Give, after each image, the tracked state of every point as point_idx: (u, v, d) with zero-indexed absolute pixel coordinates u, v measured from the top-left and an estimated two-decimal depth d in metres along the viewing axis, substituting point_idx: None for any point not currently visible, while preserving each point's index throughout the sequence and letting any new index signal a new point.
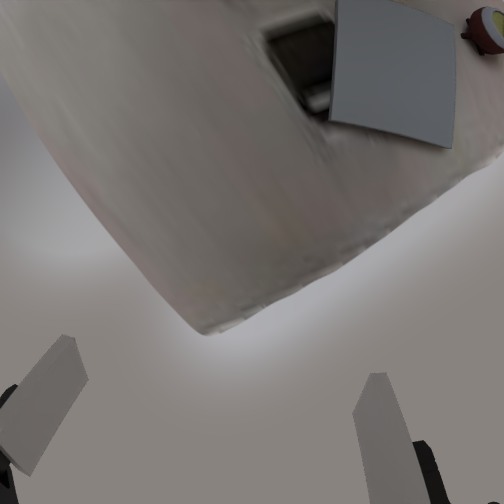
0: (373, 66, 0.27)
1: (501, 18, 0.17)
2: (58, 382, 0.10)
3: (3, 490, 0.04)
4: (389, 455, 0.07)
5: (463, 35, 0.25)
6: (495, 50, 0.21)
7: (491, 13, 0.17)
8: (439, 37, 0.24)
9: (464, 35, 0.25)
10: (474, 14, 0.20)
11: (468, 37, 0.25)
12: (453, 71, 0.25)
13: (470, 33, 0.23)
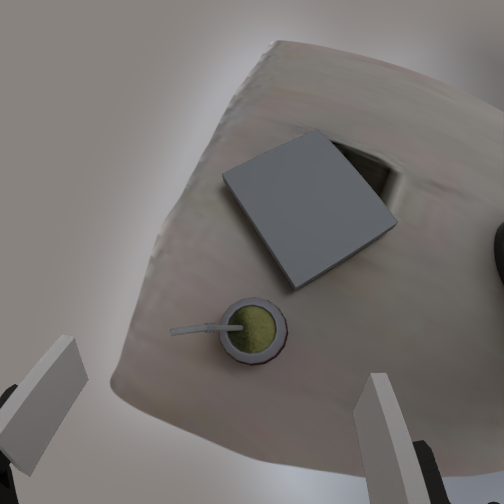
0: (325, 175, 0.38)
1: (259, 340, 0.28)
2: (58, 382, 0.10)
3: (3, 490, 0.04)
4: (389, 455, 0.07)
5: None
6: None
7: (278, 324, 0.28)
8: (299, 253, 0.35)
9: None
10: (286, 324, 0.31)
11: None
12: (264, 233, 0.36)
13: None
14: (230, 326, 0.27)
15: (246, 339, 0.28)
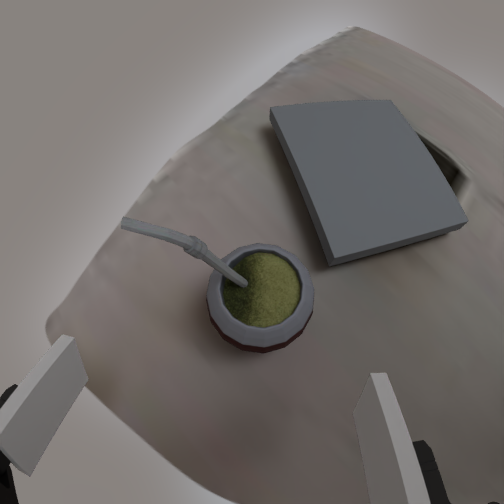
0: (393, 143, 0.28)
1: (269, 309, 0.17)
2: (58, 382, 0.10)
3: (3, 490, 0.04)
4: (389, 455, 0.07)
5: None
6: None
7: (305, 290, 0.17)
8: (348, 216, 0.24)
9: None
10: None
11: None
12: (308, 179, 0.26)
13: None
14: (230, 269, 0.16)
15: (247, 303, 0.18)
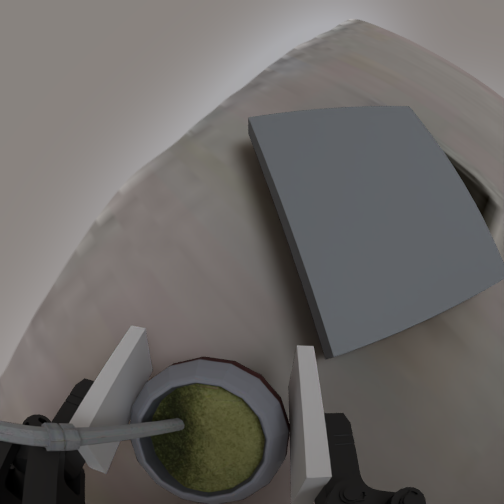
0: (417, 168, 0.20)
1: (215, 470, 0.09)
2: (132, 373, 0.11)
3: (73, 498, 0.05)
4: (300, 421, 0.09)
5: None
6: None
7: (270, 448, 0.09)
8: (356, 289, 0.16)
9: None
10: None
11: None
12: (298, 230, 0.18)
13: None
14: (143, 430, 0.08)
15: (184, 454, 0.10)
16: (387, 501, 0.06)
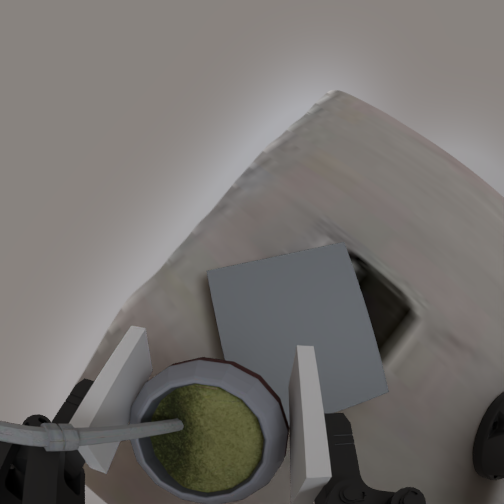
0: (328, 312, 0.31)
1: (214, 470, 0.09)
2: (132, 373, 0.11)
3: (73, 498, 0.05)
4: (300, 421, 0.09)
5: None
6: None
7: (269, 449, 0.09)
8: None
9: None
10: None
11: None
12: None
13: None
14: (142, 430, 0.08)
15: (183, 455, 0.10)
16: (387, 501, 0.06)
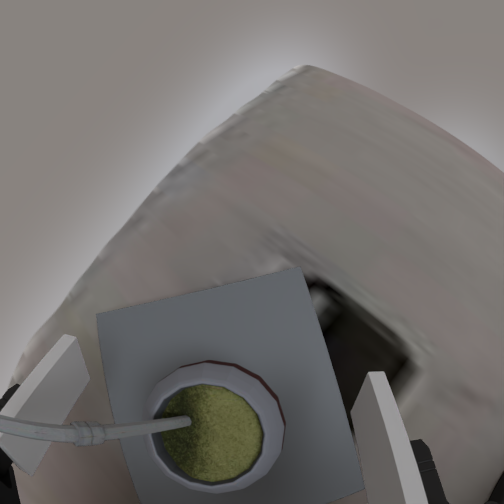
0: (269, 382, 0.19)
1: (219, 461, 0.10)
2: (60, 381, 0.10)
3: (5, 490, 0.04)
4: (386, 454, 0.07)
5: None
6: None
7: (268, 442, 0.10)
8: (170, 498, 0.15)
9: None
10: None
11: None
12: (126, 448, 0.16)
13: None
14: (156, 425, 0.09)
15: (191, 448, 0.11)
16: None
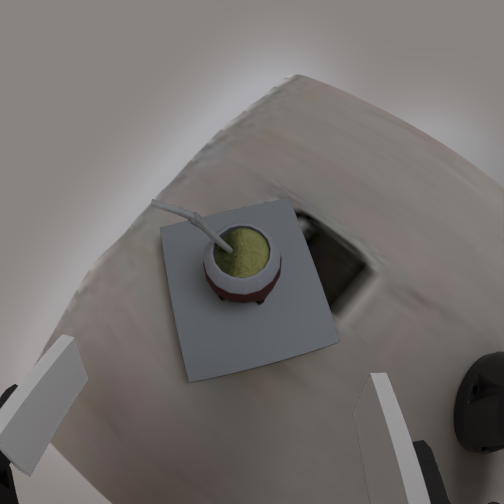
0: None
1: (247, 265, 0.24)
2: (58, 382, 0.10)
3: (3, 490, 0.04)
4: (389, 455, 0.07)
5: None
6: None
7: (272, 252, 0.25)
8: (205, 347, 0.29)
9: None
10: None
11: None
12: (177, 311, 0.30)
13: None
14: (219, 237, 0.24)
15: (232, 263, 0.25)
16: None
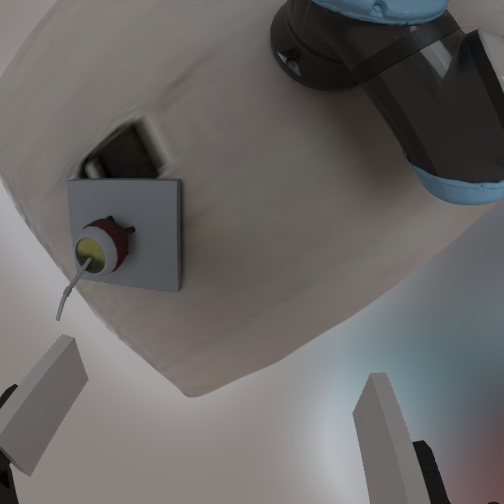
0: (108, 210, 0.39)
1: (99, 254, 0.33)
2: (58, 382, 0.10)
3: (3, 490, 0.04)
4: (389, 455, 0.07)
5: (108, 217, 0.39)
6: None
7: (93, 237, 0.32)
8: (157, 274, 0.42)
9: (107, 218, 0.38)
10: (105, 222, 0.34)
11: None
12: (132, 284, 0.43)
13: None
14: (80, 270, 0.32)
15: (98, 260, 0.34)
16: None
